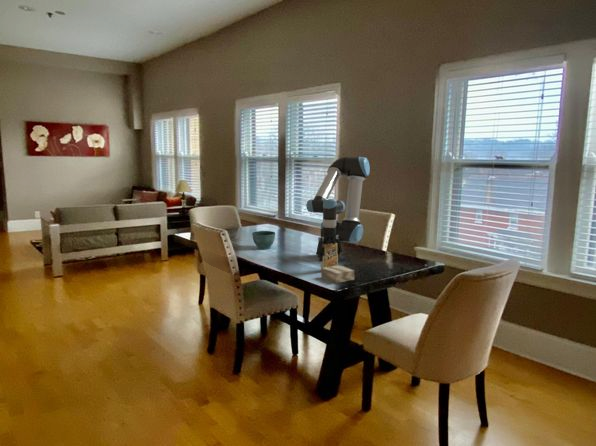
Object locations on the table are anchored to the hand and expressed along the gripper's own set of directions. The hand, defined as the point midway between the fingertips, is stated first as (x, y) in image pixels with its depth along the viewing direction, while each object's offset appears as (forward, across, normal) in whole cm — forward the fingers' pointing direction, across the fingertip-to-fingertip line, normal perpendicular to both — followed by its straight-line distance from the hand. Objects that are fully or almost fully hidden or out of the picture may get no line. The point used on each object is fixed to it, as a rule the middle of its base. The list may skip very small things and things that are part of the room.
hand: (329, 265), depth 246 cm
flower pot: (+3, +4, -72) cm, 72 cm away
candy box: (+3, 0, 0) cm, 3 cm away
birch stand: (+2, +6, +16) cm, 17 cm away
